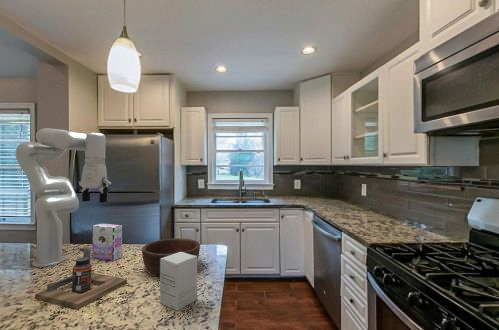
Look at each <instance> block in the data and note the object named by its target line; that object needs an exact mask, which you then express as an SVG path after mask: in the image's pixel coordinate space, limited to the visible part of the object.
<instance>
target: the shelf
mask: <svg viewBox="0 0 499 330" xmlns="http://www.w3.org/2000/svg"><path fill="white" fill-rule="evenodd" d="M78 250H79V252H83V257H88V258H89V263H90V264H91V258H92V255H91V253H92V252H91V251H92V247H91V248H90V247H88V248H85V247H79V249H78ZM127 280H128V279H127V278H123V277H117V276H113V275H106V274H101V273H96V272H91V285H96V287H94V288H92V289H91V288H90V289H89V290H87V291H85V292H82V293H74V292H71V291H67V290H62V289H60V288H62V287H63V286H66V285H68V284H72V275H70V276H68V277H64V278H63V279H59V280H58V281H55V282H53V283H50V284H48V285H47V287H46V289H44V290H41V291H39V292H36V293H34V295H35V296H34V299H35V300H40V301H44V302H46V303H52V304H55V305H59V306H63V307H67V308H71V309H74V310H75V309H76V310H79V309H81V308H83V307H85V306H87V305H89V304H91V303H93V302H94V301H96V300H98V299H100V298H102V297H104V296H105V295H108V294H109V293H112V292H114V291H115V290H116V289H118V288H120V287H122V286H125V285H126V284H127V283H128V281H127Z"/></svg>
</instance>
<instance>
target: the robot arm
mask: <svg viewBox="0 0 499 330" xmlns="http://www.w3.org/2000/svg"><path fill="white" fill-rule="evenodd" d="M35 139H36V141H37V142H33V141H28V142H27V141H25V142H22V143H20V144H18V145H17V146H16V149H15V159H16V161H17V163H18V165H19V167H20V168H21V169H22V171H23V172H24V173H25V176H26V180H27V181H28V183H29V187H30V188H31V190H32V192H33V193H32V194H34V195H35V196H37V197H39V198H38V199H36V201H35V204H34V210H35V214H36V224H37V225H36V231H37V232H36V253H34V254H33V257H35V260H34V261H32V263H31V266H32V267H35V268H42V267H43V268H45V267H46V268H47V267H52V266H56V265H59V264H62V263H64V262H66V260H67V257H66V256H64V255H63V231H64V230H63V229H64V228H63V226H64V225H63V222H62V220H61V219H60V218H59V217H58V215H62V214H63V215H65V214H70V213H74V212H76V211H77V210H78V209H79V207H80V201H79V198H78V196H77V193H76V190H75V188H74V186H73V184H72V182H71V180H70V179H69V178H68V177H65V176H62V175H61V176H60V175H59V176H58V175H57V176H53V175H51V174H50V173H49V170H48V168H47V167H46V166H45V165H44V164H43V163H41V162H40V161H41V160H43V161H44V160H45V161H55V160H58V159H60V158H61V157H62V156H63V155H64V154H65V153H66V151H67V150H69V151H73V150H74V151H83V152H84V165H83V167H82V171H81V180H80V181H78V184H79V188H80V191H81V193H82V195H81V201H82V202H90V201H91V192H90V190H91V189H98V190H99V197H98V201H99V204H102V203H107V201H108V193H109V191H110V189H111V187H112V182H111V181H110V180H108V172H107V166H106V140H107V138H106V136H105V134H104V133H98V132H87V133H82V132H76V131H75V132H74V131H68V130H66V129H59V128H50V127H45V128H40V129H39V130H38V131H37V132H36V134H35ZM38 160H39V161H38Z"/></svg>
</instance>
